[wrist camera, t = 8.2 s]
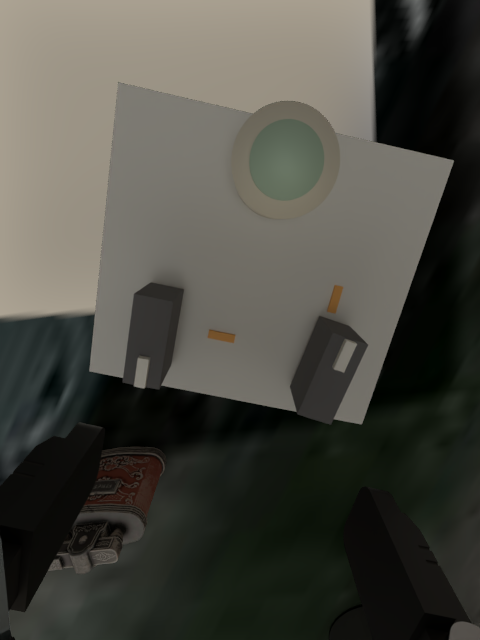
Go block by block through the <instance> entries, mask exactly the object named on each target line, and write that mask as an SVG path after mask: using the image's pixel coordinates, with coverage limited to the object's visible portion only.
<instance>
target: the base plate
mask: <svg viewBox="0 0 480 640" xmlns="http://www.w3.org/2000/svg"><path fill="white" fill-rule="evenodd" d="M453 162H454V160H449V159H445V158H441V157H436V156H432V155H428V154H424V153H419V152H415V151H411V150H406V149H402V148H398V147H394V146H389V145H385V144H381V143H376V142H372V141H368V140H363V139H359V138H355V137H351V136H346V135H342V134H338V133H335V132H334V129H333V128H332V126H331V124H330V123H329V122H328V120H327V119H326V118H325V117H324V116H323V115H322V114H321V113H320V112H318V111H317V110H316V109H314V108H313V107H311V106H309V105H306V104H304V103H300V102H295V101H280V102H275V103H272V104H269V105H267V106H265V107H262V108H261V109H259V110H258V111H256V112H255V113H254V114H252V113H248V112H244V111H239V110H235V109H231V108H227V107H222V106H218V105H213V104H209V103H205V102H201V101H197V100H192V99H188V98H184V97H179V96H175V95H171V94H166V93H162V92H158V91H154V90H150V89H145V88H141V87H137V86H132V85H128V84H124V83H120V82H118V90H117V100H116V110H115V120H114V130H113V140H112V150H111V160H110V170H109V180H108V190H107V200H106V211H105V220H104V230H103V241H102V250H101V260H100V270H99V280H98V291H97V300H96V310H95V320H94V330H93V340H92V350H91V360H90V370H89V371H91V372H96V373H101V374H106V375H111V376H116V377H121V378H123V374H124V367H125V359H126V351H127V343H128V336H129V328H130V320H131V312H132V305H133V297H134V293H136V292H137V291H139V290H140V289H142V288H143V287H145V286H146V285H148V284H149V283H151V282H152V283H157V284H162V285H166V286H171V287H176V288H181V289H184V293H183V299H182V305H181V311H180V316H179V322H178V328H177V334H176V340H175V346H174V352H173V358H172V364H171V367H170V369H169V371H168V373H167V375H166V377H165V379H164V381H163V383H162V386H167V387H173V388H178V389H183V390H188V391H193V392H198V393H203V394H208V395H213V396H219V397H224V398H229V399H234V400H239V401H244V402H249V403H254V404H259V405H265V406H270V407H275V408H280V409H285V410H290V411H295V412H297V411H296V408H295V404H294V400H293V397H292V393H291V389H290V385H291V383H292V380H293V378H294V375H295V373H296V371H297V368H298V366H299V363H300V361H301V359H302V356H303V354H304V352H305V349H306V347H307V344H308V342H309V340H310V337H311V335H312V332H313V330H314V328H315V325H316V323H317V320H318V318H319V316H322V317H325V318H328V319H331V320H333V321H336V322H339V323H342V324H345V325H348V326H350V327H351V328H352V329H353V330H354V331H355V332H356V333H357V334H358V335H359V336H360V337H361V338H362V339H363V340H364V341H365V342H366V343H367V344H368V347H367V349H366V351H365V353H364V355H363V357H362V359H361V362H360V364H359V366H358V368H357V370H356V372H355V374H354V376H353V379H352V381H351V383H350V385H349V387H348V389H347V391H346V393H345V396H344V398H343V400H342V402H341V404H340V406H339V408H338V410H337V413H336V415H335V417H334V419H336V420H341V421H346V422H352V423H357V424H362V422H363V420H364V417H365V414H366V411H367V408H368V405H369V402H370V400H371V397H372V394H373V391H374V388H375V385H376V382H377V380H378V377H379V374H380V371H381V368H382V365H383V362H384V360H385V357H386V354H387V351H388V348H389V345H390V342H391V339H392V337H393V334H394V331H395V328H396V325H397V322H398V319H399V317H400V314H401V311H402V308H403V305H404V302H405V299H406V297H407V294H408V291H409V288H410V285H411V282H412V279H413V277H414V274H415V271H416V268H417V265H418V262H419V259H420V257H421V254H422V251H423V248H424V245H425V242H426V239H427V236H428V234H429V231H430V228H431V225H432V222H433V219H434V216H435V214H436V211H437V208H438V205H439V202H440V199H441V196H442V194H443V191H444V188H445V185H446V182H447V179H448V176H449V174H450V171H451V168H452V165H453Z"/></svg>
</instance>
